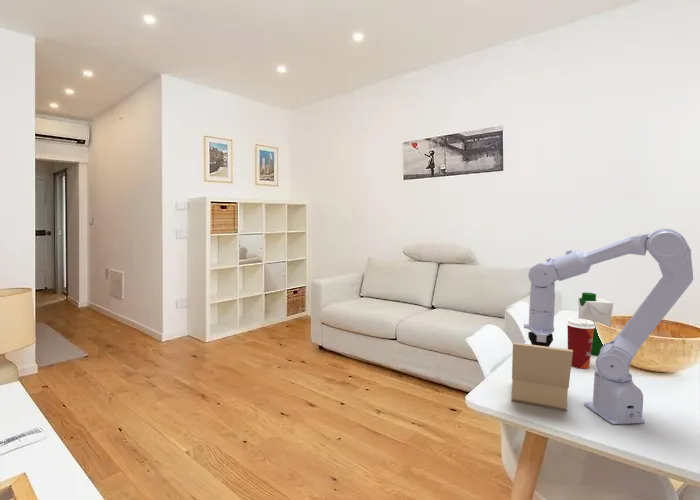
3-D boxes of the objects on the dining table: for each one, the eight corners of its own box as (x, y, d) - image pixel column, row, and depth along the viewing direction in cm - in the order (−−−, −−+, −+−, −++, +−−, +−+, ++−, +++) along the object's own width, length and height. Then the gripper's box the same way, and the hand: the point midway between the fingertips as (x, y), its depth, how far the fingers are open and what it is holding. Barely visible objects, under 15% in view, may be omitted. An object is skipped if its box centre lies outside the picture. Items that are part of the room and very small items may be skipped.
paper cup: (597, 371, 116) (600, 325, 114) (569, 369, 117) (571, 323, 116) (587, 361, 123) (589, 318, 122) (560, 359, 125) (562, 317, 124)
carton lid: (512, 342, 91) (512, 343, 91) (572, 349, 86) (572, 351, 86) (512, 377, 96) (511, 378, 96) (568, 386, 91) (568, 388, 91)
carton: (513, 383, 107) (514, 362, 106) (563, 392, 102) (564, 369, 101) (511, 400, 97) (512, 377, 96) (566, 411, 92) (567, 386, 91)
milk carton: (573, 346, 137) (576, 290, 136) (600, 348, 136) (604, 291, 134) (583, 355, 129) (587, 296, 127) (613, 357, 127) (617, 297, 125)
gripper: (524, 302, 107) (522, 350, 108) (524, 314, 94) (521, 368, 95) (553, 305, 104) (551, 354, 106) (557, 317, 91) (554, 373, 92)
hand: (539, 361), depth 100 cm, fingers closed
